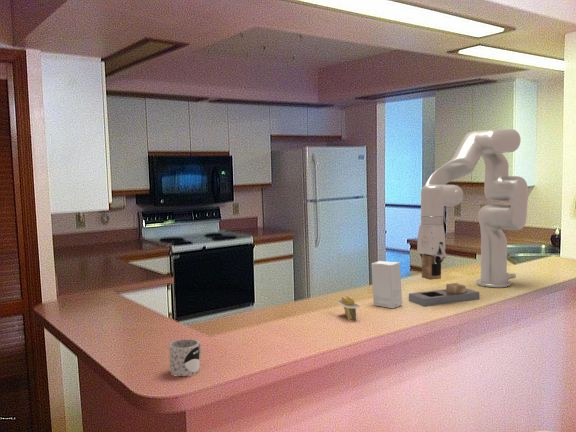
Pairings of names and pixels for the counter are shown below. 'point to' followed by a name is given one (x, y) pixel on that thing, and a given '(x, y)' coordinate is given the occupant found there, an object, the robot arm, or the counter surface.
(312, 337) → the counter surface
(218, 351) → the counter surface
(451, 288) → the seated oak block
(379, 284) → the skincare box
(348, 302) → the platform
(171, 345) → the mug
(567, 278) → the counter surface
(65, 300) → the counter surface
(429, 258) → the walnut block
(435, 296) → the grey flat frame
